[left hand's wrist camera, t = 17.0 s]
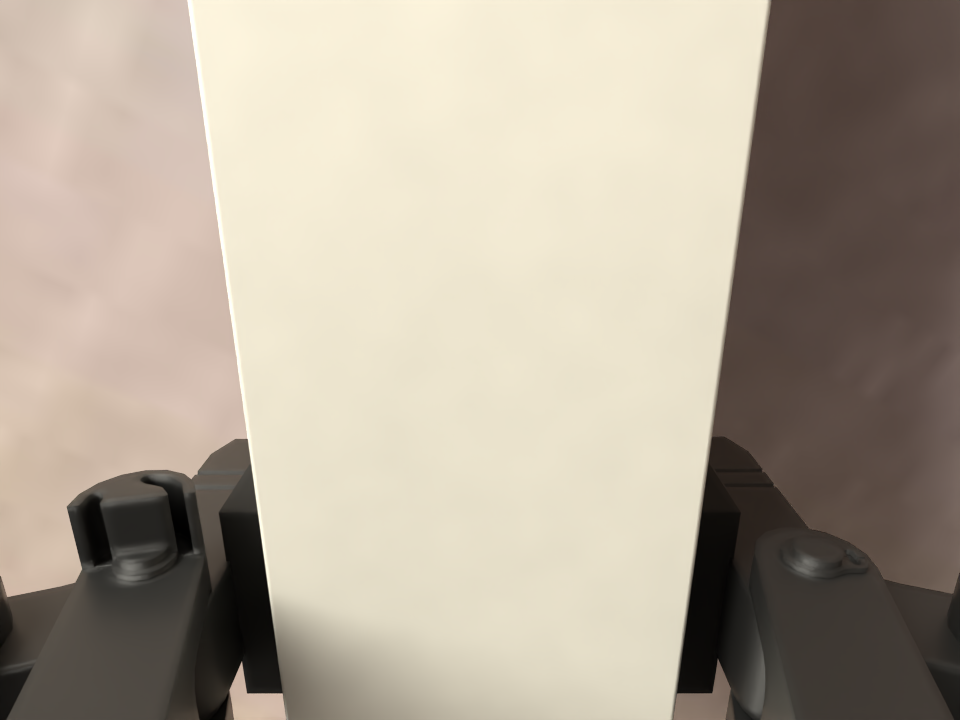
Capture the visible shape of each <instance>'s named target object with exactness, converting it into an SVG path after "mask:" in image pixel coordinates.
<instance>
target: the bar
mask: <svg viewBox="0 0 960 720" xmlns="http://www.w3.org/2000/svg"><path fill="white" fill-rule="evenodd" d="M771 1H772V0H188V6H189V14H190V21H191V28H192V35H193V43H194V50H195V57H196V65H197V72H198V79H199V86H200V94H201V101H202V108H203V116H204V123H205V130H206V137H207V145H208V152H209V159H210V167H211V174H212V181H213V188H214V196H215V203H216V210H217V218H218V225H219V232H220V240H221V247H222V254H223V261H224V269H225V276H226V283H227V291H228V298H229V305H230V312H231V320H232V327H233V334H234V342H235V349H236V356H237V363H238V371H239V378H240V385H241V393H242V400H243V407H244V414H245V422H246V429H247V436H248V444H249V451H250V458H251V466H252V473H253V480H254V487H255V495H256V502H257V509H258V517H259V524H260V531H261V538H262V546H263V553H264V560H265V568H266V575H267V582H268V589H269V597H270V604H271V611H272V619H273V626H274V633H275V640H276V648H277V655H278V662H279V670H280V677H281V684H282V692H283V699H284V706H285V713H286V720H673V717H674V710H675V703H676V695H677V688H678V681H679V673H680V666H681V659H682V651H683V644H684V637H685V629H686V622H687V615H688V607H689V600H690V593H691V586H692V578H693V571H694V564H695V556H696V549H697V542H698V534H699V527H700V520H701V512H702V505H703V498H704V490H705V483H706V476H707V469H708V461H709V454H710V447H711V439H712V432H713V425H714V417H715V410H716V403H717V395H718V388H719V381H720V373H721V366H722V359H723V352H724V344H725V337H726V330H727V322H728V315H729V308H730V300H731V293H732V286H733V278H734V271H735V264H736V257H737V249H738V242H739V235H740V227H741V220H742V213H743V205H744V198H745V191H746V183H747V176H748V169H749V161H750V154H751V147H752V140H753V132H754V125H755V118H756V110H757V103H758V96H759V88H760V81H761V74H762V66H763V59H764V52H765V44H766V37H767V30H768V23H769V15H770V8H771Z"/></svg>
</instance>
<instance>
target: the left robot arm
mask: <svg viewBox="0 0 960 720" xmlns="http://www.w3.org/2000/svg"><path fill="white" fill-rule="evenodd" d="M67 510H68V514H69V518H70V522H71V526H72V530H73V534H74V538H75V542H76V546H77V550H78V554H79V558H80V562H81V566H82V571H81V573H80V575H79V577H78V579H77V581H76V583H73V584H69V585H65V586H61V587H56V588H51V589H46V590H41V591H36V592H31V593H26V594H21V595H16V596H11V597H7V595H6V592H5V589H4V585H3V582H2V579H1V576H0V720H234V717H233V710H232V703H231V697H230V691H229V690H230V687H231V685H232V683H233V680H234V678H235V676H236V673H237V671H238V669H239V666H240V664H241V662H242V664H243V670H244V676H245V683H246V689H247V693H283V692H282V684H281V677H280V670H279V662H278V655H277V648H276V640H275V633H274V626H273V619H272V611H271V604H270V597H269V589H268V582H267V575H266V568H265V560H264V553H263V546H262V538H261V531H260V524H259V517H258V509H257V502H256V495H255V487H254V480H253V473H252V466H251V458H250V451H249V444H248V439H235V440H233V441H232V442H230V443H228V444H227V445H225V446H223V447H222V448H220V449H219V450H217V451H215V452H214V453H212V454H211V455H210V456H209V458H208V459H207V460H206V462H205V463H204V464H203V465H202V467H201V468H200V469H199V471H198V475H195V476H194V477H193V478H192V480H191V479H190V478H189V477H187V476H186V475H185V474H182V473H178V472H173V471H169V470H145V471H140V472H135V473H129V474H124V475H120V476H117V477H114V478H112V479H109V480H106V481H103V482H100V483H98V484H96V485H94V486H93V487H91V488H89V489H87V490H86V491H84V492H82V493H80V494H79V495H78V496H77V497H76V498H75V499H74V500H73V501H72V502H71V503H70V504H69V505H68V506H67ZM718 659H719V662H720V664H721V666H722V669H723V671H724V673H725V676H726V678H727V680H728V682H729V685H730V687H731V691H730V697H729V703H728V709H727V714H726V720H960V573H959V577H958V580H957V583H956V587H955V590H954V593H953V594H949V593H944V592H939V591H934V590H929V589H924V588H919V587H914V586H909V585H904V584H899V583H895V582H891V581H887V580H884V579H883V578H882V576H881V574H880V572H879V570H878V568H877V567H876V566H875V564H874V563H873V562H872V561H871V559H870V558H869V557H868V556H867V555H866V554H865V553H864V552H862V551H861V550H859V549H858V548H856V547H855V546H853V545H852V544H850V543H849V542H847V541H844V540H842V539H840V538H837V537H835V536H832V535H830V534H828V533H825V532H820V531H815V530H811V529H809V528H808V527H807V526H806V524H805V523H804V522H803V520H802V519H801V518H800V517H799V515H798V514H797V513H796V512H795V510H794V509H793V508H792V506H791V505H790V504H789V503H788V501H787V500H786V499H785V498H784V496H783V495H782V494H781V492H780V491H779V490H778V489H777V487H774V486H773V482H772V481H771V480H770V478H769V477H768V476H767V475H766V473H765V472H762V468H761V467H760V466H759V464H758V463H757V462H756V461H755V459H754V458H753V457H752V456H751V454H750V453H749V452H748V451H747V450H745V449H743V448H742V447H740V446H738V445H737V444H735V443H734V442H732V441H730V440H729V439H727V438H725V437H712V439H711V447H710V454H709V461H708V469H707V476H706V483H705V490H704V498H703V505H702V512H701V520H700V527H699V534H698V542H697V549H696V556H695V564H694V571H693V578H692V586H691V593H690V600H689V607H688V615H687V622H686V629H685V637H684V644H683V651H682V659H681V666H680V673H679V681H678V688H677V693H712V692H713V686H714V680H715V673H716V667H717V661H718Z"/></svg>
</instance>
